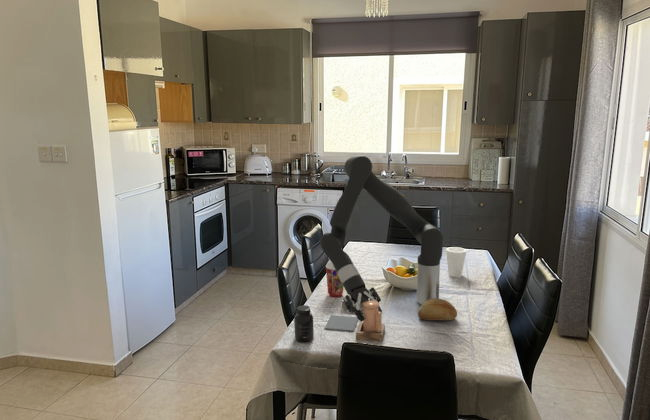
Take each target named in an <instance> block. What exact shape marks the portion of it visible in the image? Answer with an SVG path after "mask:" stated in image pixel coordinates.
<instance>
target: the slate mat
mask: <svg viewBox="0 0 650 420" xmlns="http://www.w3.org/2000/svg"><path fill="white" fill-rule="evenodd" d="M358 321H359V320H358V318H357V316H349V315H336V314H331V315H330V317H329V318H328V321H327V322H326V324H325V326H324V330H329V331H340V332H350V333H351V332H353V333H354V331H355V329H356V327H357V323H358Z"/></svg>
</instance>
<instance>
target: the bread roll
mask: <svg viewBox="0 0 650 420" xmlns="http://www.w3.org/2000/svg"><path fill="white" fill-rule="evenodd" d="M417 315H418V317H419V318H420V319H421V320H423V321H424V320H425V321H453V320H454V319H456V318H457V317H458V312H457V308H456V307H455V306H454V305H453V304H452V303H450V301H447V300H446V299H442V298H439V299H429V300H427V301H425V302H424V303H423V304H421V306H419V308H418V312H417Z"/></svg>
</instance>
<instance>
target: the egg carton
mask: <svg viewBox="0 0 650 420" xmlns="http://www.w3.org/2000/svg"><path fill="white" fill-rule="evenodd" d="M351 302H352V304H353V302H354V301H352V300H351ZM340 303H341V309H342V310H343V311H348V309H347V307H346V305H345V302H344V300H341V301H340ZM359 310H360V311H361V312H362V313H363V303H362V304H361V305H360V306H359Z"/></svg>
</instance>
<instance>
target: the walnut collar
mask: <svg viewBox="0 0 650 420" xmlns="http://www.w3.org/2000/svg"><path fill="white" fill-rule="evenodd" d="M385 330H386V324H385V323H382V322H381V331H379V332H378V333H372V332H363V321H362V322H360V321H359V323H358V326H357V327H356V331H355V339H356V340H362V341H363V340H364V341H370V342H371V341H374V342H383V340H384V334H385Z"/></svg>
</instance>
